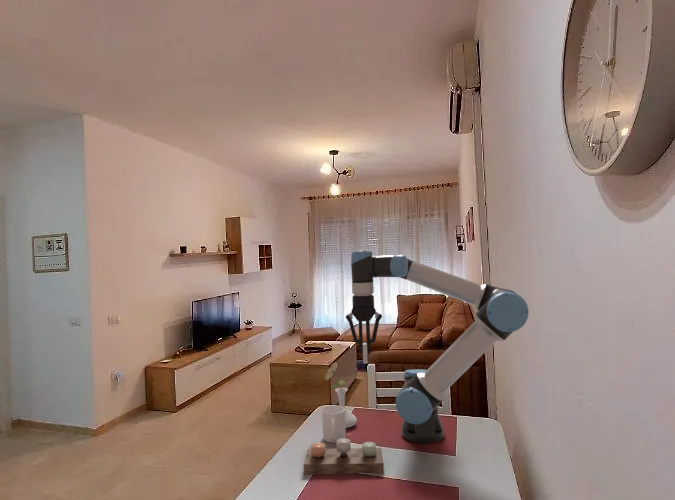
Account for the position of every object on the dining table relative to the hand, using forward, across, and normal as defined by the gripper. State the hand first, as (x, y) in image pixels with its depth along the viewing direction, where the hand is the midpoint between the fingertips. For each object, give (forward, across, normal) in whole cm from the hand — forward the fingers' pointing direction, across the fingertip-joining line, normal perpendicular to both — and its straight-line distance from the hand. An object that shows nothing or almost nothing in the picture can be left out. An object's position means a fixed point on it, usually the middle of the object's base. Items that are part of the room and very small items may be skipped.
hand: (365, 362), depth 142 cm
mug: (+29, +12, -4) cm, 31 cm away
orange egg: (+26, +16, +14) cm, 34 cm away
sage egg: (+26, 0, +14) cm, 30 cm away
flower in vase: (+29, +10, -17) cm, 35 cm away
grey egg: (+25, +8, +14) cm, 30 cm away
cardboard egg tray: (+28, +8, +14) cm, 33 cm away
